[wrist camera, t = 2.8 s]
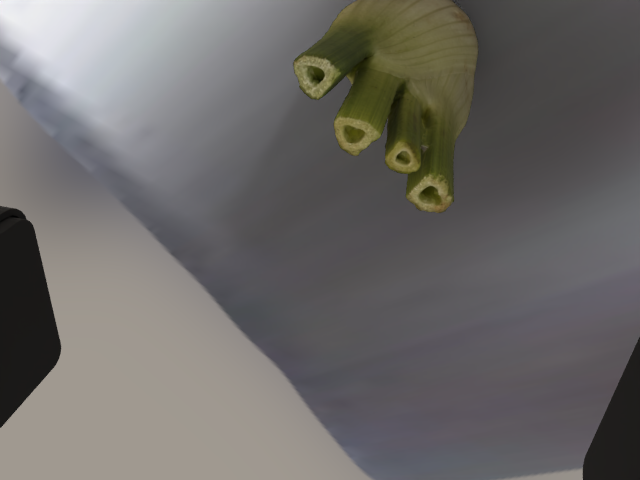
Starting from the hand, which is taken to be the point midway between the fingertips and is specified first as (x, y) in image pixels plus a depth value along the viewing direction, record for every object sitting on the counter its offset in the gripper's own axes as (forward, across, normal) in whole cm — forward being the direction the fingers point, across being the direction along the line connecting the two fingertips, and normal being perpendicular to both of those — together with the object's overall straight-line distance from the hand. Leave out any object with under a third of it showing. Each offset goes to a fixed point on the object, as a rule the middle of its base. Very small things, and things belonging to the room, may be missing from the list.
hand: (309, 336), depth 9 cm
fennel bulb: (+20, 0, 0) cm, 20 cm away
